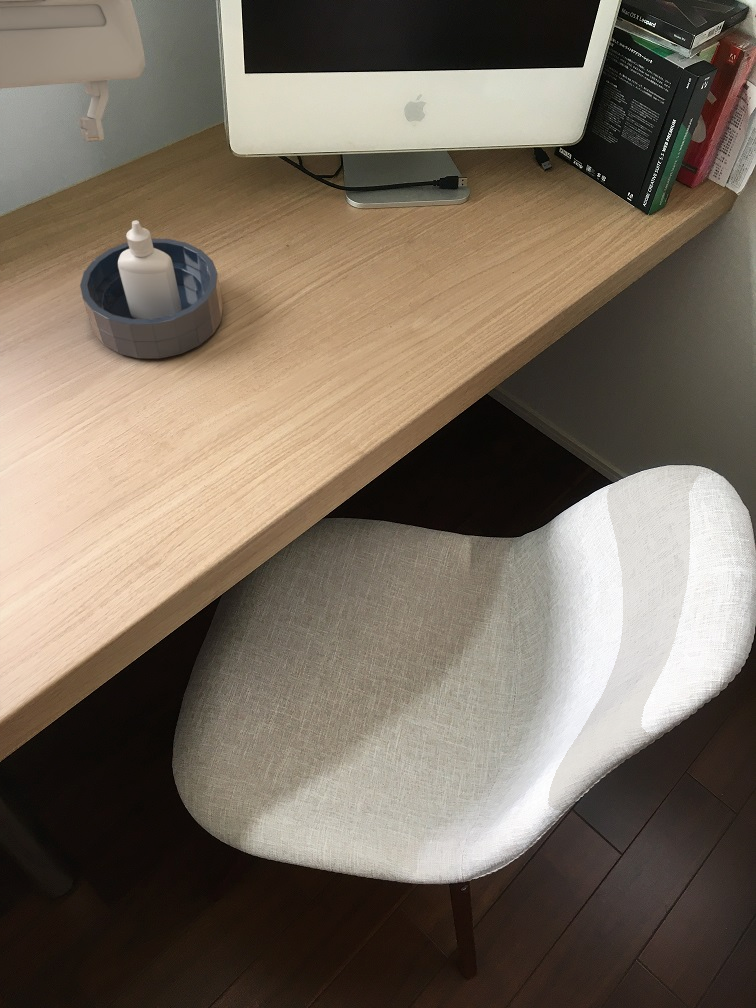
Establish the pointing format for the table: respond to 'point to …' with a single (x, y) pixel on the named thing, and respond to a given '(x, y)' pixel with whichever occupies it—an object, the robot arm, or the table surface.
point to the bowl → (160, 333)
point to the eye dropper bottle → (147, 277)
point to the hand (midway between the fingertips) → (39, 146)
